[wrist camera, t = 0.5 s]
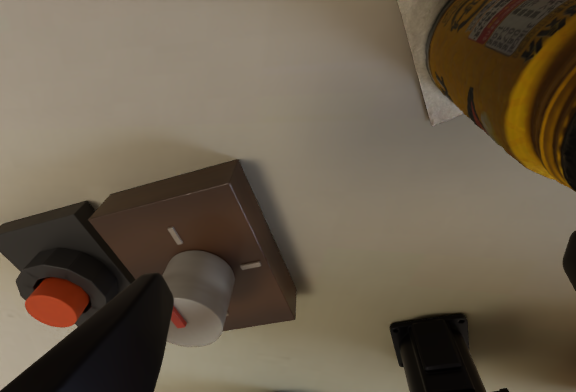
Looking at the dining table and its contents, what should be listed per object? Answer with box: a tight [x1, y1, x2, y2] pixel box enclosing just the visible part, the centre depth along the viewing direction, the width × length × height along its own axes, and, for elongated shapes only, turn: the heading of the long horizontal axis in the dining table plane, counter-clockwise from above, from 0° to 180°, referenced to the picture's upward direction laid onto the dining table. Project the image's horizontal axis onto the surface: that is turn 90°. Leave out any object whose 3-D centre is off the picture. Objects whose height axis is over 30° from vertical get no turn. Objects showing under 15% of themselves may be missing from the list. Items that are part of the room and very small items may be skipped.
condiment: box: [397, 0, 576, 192], centre depth 12 cm, size 7×8×12 cm
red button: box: [25, 277, 89, 327], centre depth 25 cm, size 4×4×2 cm
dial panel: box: [88, 160, 296, 331], centre depth 25 cm, size 13×10×3 cm
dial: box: [162, 250, 235, 347], centre depth 22 cm, size 5×5×4 cm
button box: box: [0, 201, 136, 327], centre depth 27 cm, size 11×8×4 cm
